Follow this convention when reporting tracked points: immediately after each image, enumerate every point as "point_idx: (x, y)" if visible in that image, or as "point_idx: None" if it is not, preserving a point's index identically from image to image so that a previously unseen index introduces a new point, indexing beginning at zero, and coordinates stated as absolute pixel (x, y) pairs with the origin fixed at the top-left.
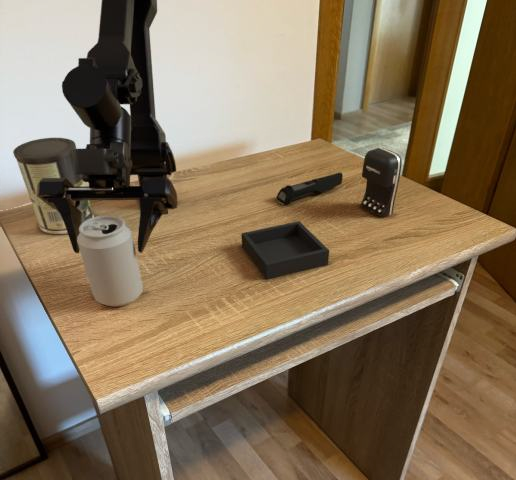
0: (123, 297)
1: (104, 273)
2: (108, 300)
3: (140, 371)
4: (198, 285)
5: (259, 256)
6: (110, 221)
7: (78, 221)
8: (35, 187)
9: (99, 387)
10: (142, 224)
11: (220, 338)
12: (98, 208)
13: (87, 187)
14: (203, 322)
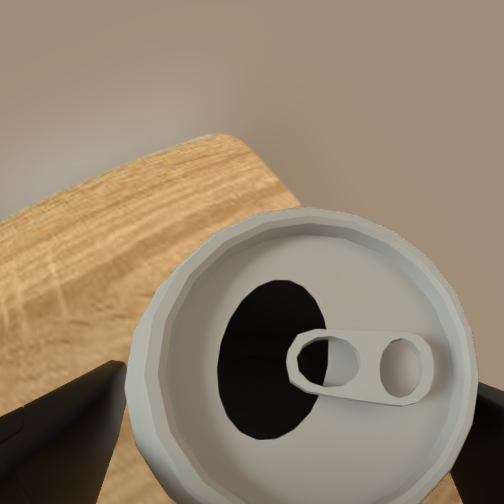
0: (223, 338)
1: (276, 292)
2: (269, 334)
3: (170, 162)
4: None
5: None
6: (300, 483)
7: (492, 502)
8: None
9: (233, 142)
10: (35, 421)
11: (27, 225)
12: None
13: None
14: (41, 272)
